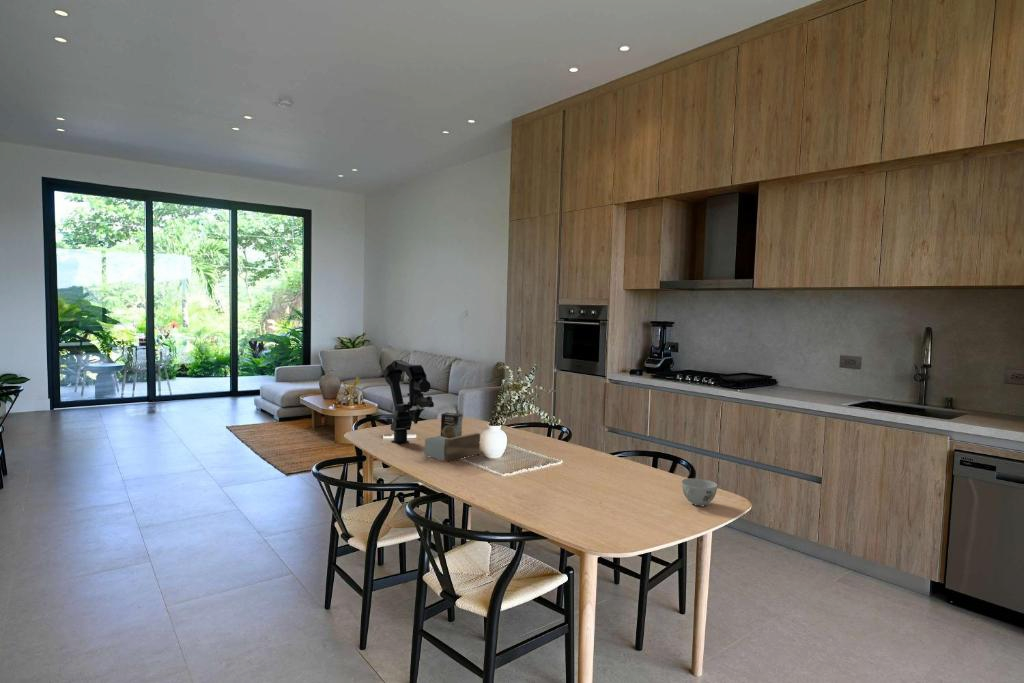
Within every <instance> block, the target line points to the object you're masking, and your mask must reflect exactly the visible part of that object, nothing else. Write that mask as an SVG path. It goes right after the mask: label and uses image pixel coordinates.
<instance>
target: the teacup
mask: <svg viewBox="0 0 1024 683" xmlns="http://www.w3.org/2000/svg"><path fill="white" fill-rule="evenodd" d="M681 489H682V492H683V494H684V496H685V498H686V499H687V501H688V502H689V503H690V502H691V503H692V504H696V505H706V506H708V504H710V503H711V502H713V500H714V498H715V497H716V494H717V491H718V483H716V482H714V481H712V480H709V479H704V478H703V479H702V478H691V477H690V478H684V479H682V480H681ZM691 503H690V504H691ZM692 504H691V505H692Z"/></svg>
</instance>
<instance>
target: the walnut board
mask: <svg viewBox="0 0 1024 683" xmlns="http://www.w3.org/2000/svg"><path fill="white" fill-rule="evenodd" d="M480 444H481V434H480V433H479V432H474V433H469V434H463V435H462V436H458V437H453V438H448V439H445V444H444V461H443V462H445V461H446V462H445V463H451V462H450V461H452V462H456V461H459V460H458V459H460V460H462V459H461V458H464V457H468V456H472V455H476V456H478V455H477V454H479V455H480V446H481V445H480ZM472 457H473V456H472ZM468 458H469V457H468ZM464 459H465V458H464ZM455 460H456V461H455Z"/></svg>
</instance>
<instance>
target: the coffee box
mask: <svg viewBox="0 0 1024 683" xmlns="http://www.w3.org/2000/svg"><path fill="white" fill-rule="evenodd" d="M440 417H441V419H440V422H441V423H440V436H442V437H446V438H453V437H458V436H463V435H462V434H463V417H464V416H463V414H462V413H457V412H456V413H455V412H448V411H447V412H443V413H441V416H440Z"/></svg>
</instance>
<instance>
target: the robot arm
mask: <svg viewBox="0 0 1024 683" xmlns="http://www.w3.org/2000/svg"><path fill="white" fill-rule="evenodd" d="M404 373H405V375H406V376H407V377H408V378H407V380H406V381H407V382H408V393H407V396H408V399H409V400H408V402H407V403H404V399H403V393H402V390H401V380H402V376H403V374H404ZM383 377H384V378H385V382H386V383H387V384H388V385H389V387H390V392H391V396H392V403H393V406H394V412H395V413H394V415H393V418H392V419H393V421H392V423H391V424H390V430H391V431H393V439H392V440H391V443H394V444H398V445H403V444H405V443H406V442H407V443H409V442H410V441H409V440H408V431H410V430H411V428H412V422H413V424H415V425H417V424H418V421H419V420H420V416H421V413H422V412H423V411H425V408H434V407H435V403H434V401H433V397H432V396H429V395H428V396H426V397H425V396H424V393H428V392H429V391H430V389H431V383H430V382H429V380H427V374H426V371H425V370H424V367H423V366H422V364H411V363H408V362H407V361H404V360H402V359H398V360H397V359H395V360H393V361H392V362H391V363H390V364H389V365H387V366H386V367H385V369H384V370H383Z"/></svg>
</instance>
